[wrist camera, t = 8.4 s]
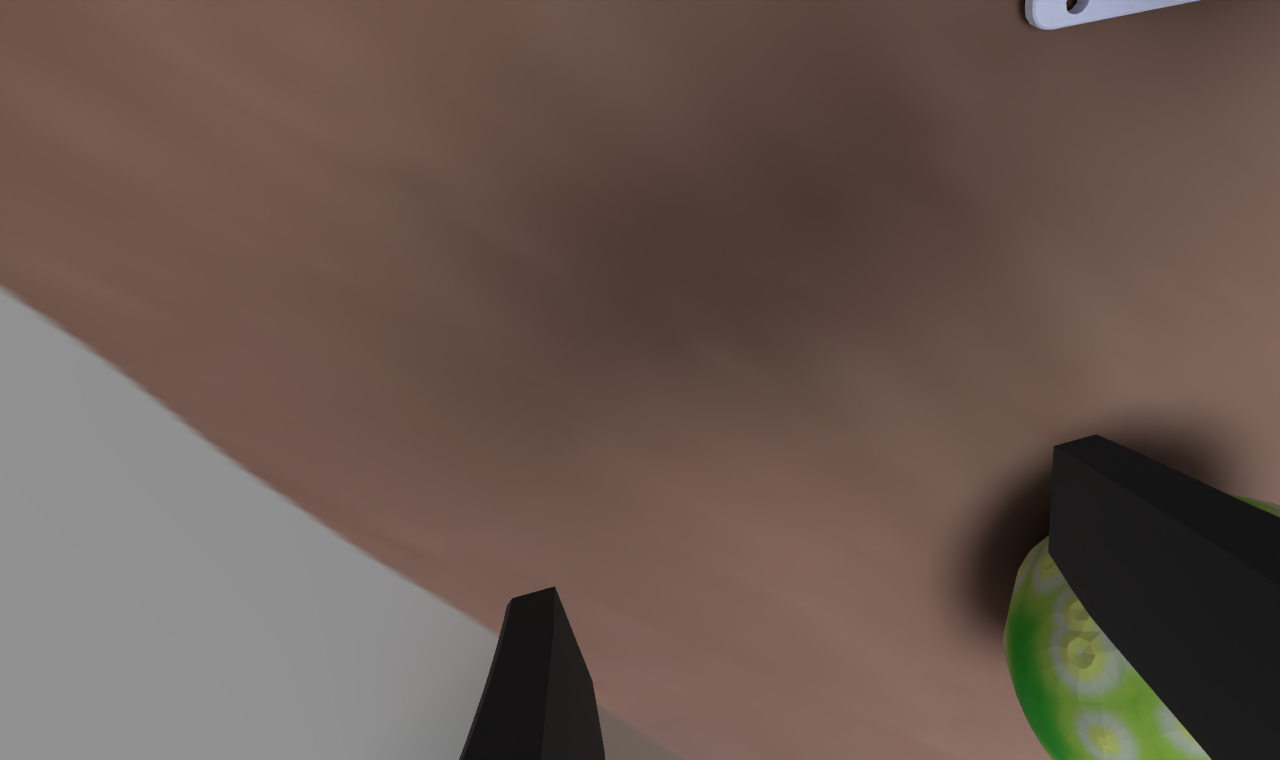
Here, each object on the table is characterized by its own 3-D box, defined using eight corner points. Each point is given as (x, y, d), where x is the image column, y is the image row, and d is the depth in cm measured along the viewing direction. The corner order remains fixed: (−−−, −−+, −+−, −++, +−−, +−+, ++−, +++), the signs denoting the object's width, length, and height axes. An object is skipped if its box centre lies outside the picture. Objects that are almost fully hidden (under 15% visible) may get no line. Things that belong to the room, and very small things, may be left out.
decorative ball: (1278, 510, 28) (1612, 779, 20) (1045, 678, 31) (1247, 972, 23) (1139, 362, 24) (1487, 622, 15) (886, 573, 27) (1060, 886, 18)
